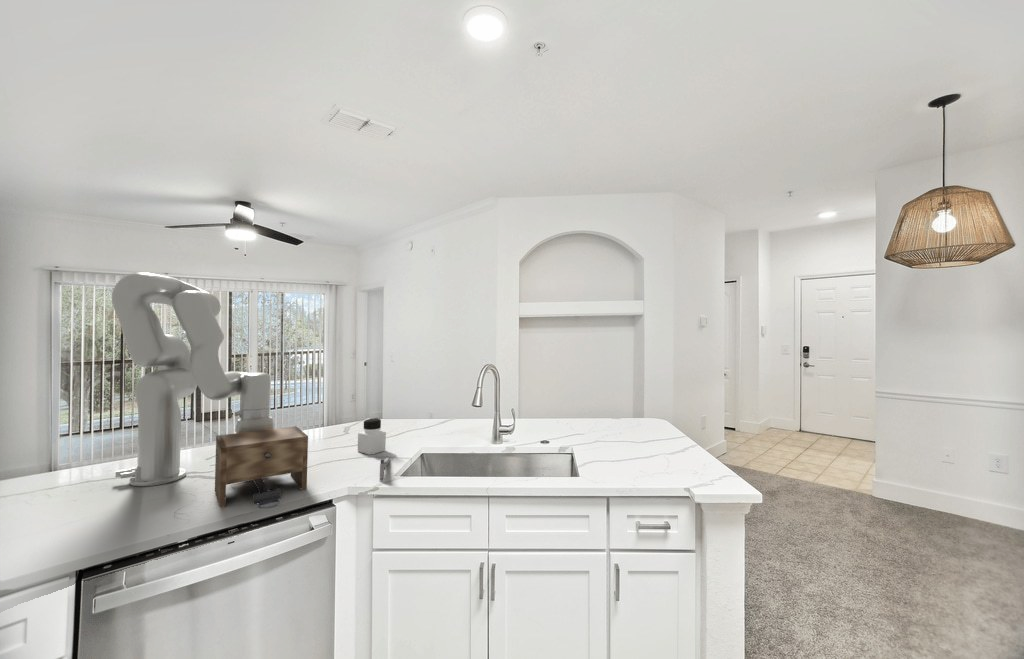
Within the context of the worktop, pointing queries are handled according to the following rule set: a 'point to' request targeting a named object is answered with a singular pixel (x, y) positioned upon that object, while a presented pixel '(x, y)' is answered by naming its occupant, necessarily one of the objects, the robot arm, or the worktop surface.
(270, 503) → the steel token
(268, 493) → the scraper
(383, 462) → the caliper
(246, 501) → the worktop surface
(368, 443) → the medicine bottle
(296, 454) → the walnut cabinet
